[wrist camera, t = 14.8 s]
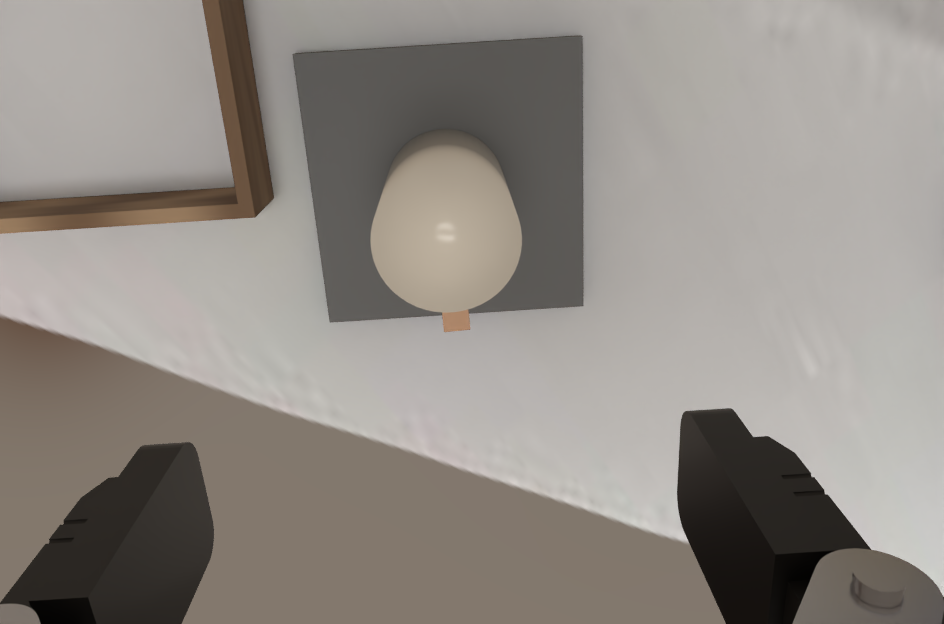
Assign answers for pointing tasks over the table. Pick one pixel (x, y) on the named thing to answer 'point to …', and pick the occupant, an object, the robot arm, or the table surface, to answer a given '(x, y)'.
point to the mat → (460, 108)
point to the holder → (187, 205)
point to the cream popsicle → (446, 226)
